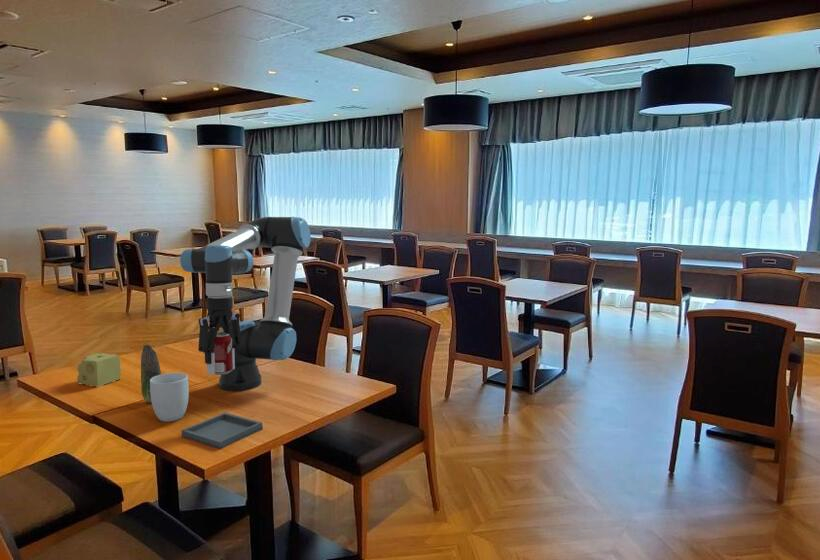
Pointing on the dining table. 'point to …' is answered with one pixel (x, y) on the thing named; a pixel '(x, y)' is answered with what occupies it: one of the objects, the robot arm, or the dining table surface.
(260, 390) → the dining table surface
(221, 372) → the soda can
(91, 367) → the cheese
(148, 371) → the vegetable
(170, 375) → the mug
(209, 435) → the tray
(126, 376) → the dining table surface
